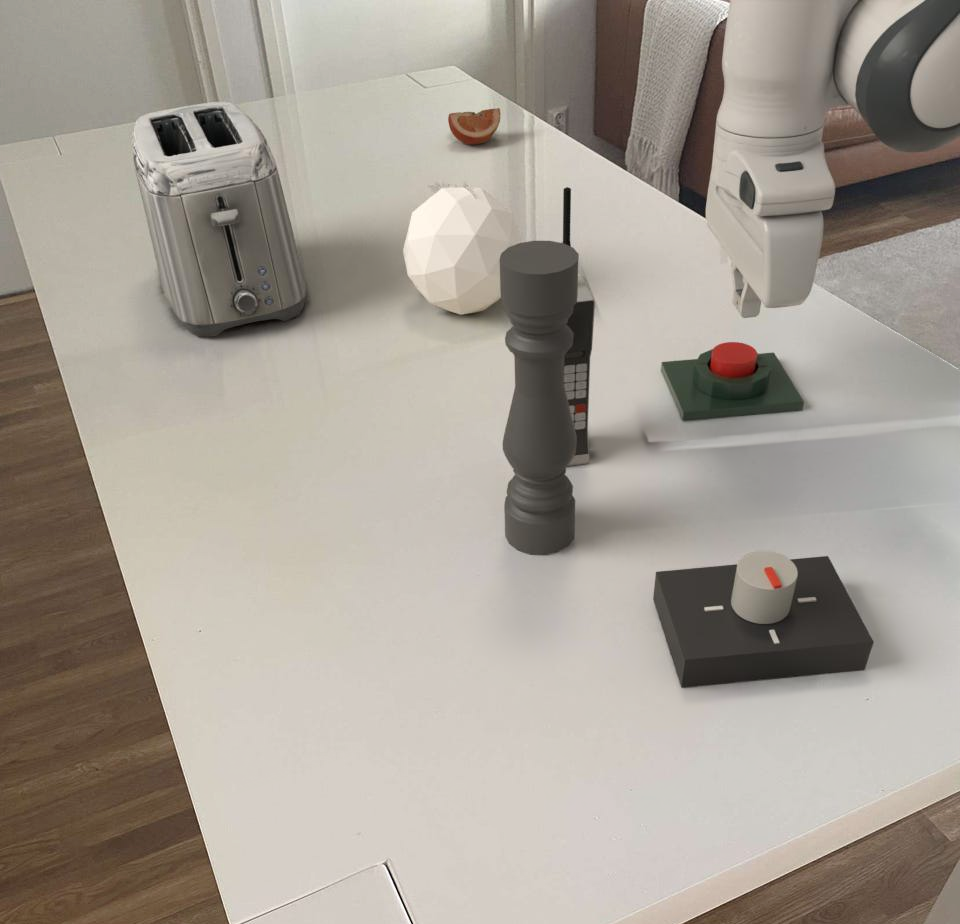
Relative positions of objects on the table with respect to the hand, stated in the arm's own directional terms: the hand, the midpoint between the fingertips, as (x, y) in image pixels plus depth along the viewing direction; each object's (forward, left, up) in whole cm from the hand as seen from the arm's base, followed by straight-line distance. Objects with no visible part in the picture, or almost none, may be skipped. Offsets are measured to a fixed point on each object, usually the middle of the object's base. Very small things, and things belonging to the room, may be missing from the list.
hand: (745, 311), depth 96 cm
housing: (0, -1, -10) cm, 10 cm away
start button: (0, -1, -7) cm, 7 cm away
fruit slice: (+19, -83, -10) cm, 86 cm away
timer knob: (+7, +33, -7) cm, 35 cm away
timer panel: (+7, +33, -10) cm, 35 cm away
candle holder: (+22, +18, -10) cm, 30 cm away
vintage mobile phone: (+18, +6, -10) cm, 22 cm away
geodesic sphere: (+25, -27, -10) cm, 38 cm away
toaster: (+54, -37, -10) cm, 66 cm away
